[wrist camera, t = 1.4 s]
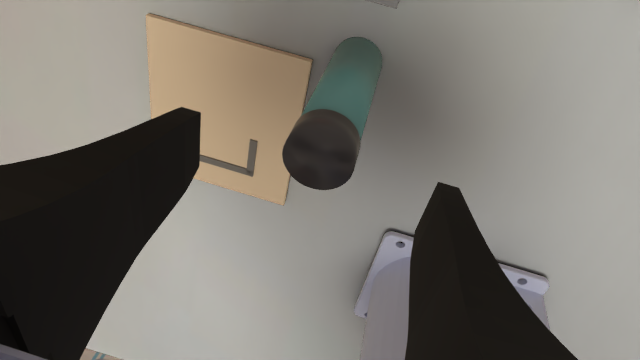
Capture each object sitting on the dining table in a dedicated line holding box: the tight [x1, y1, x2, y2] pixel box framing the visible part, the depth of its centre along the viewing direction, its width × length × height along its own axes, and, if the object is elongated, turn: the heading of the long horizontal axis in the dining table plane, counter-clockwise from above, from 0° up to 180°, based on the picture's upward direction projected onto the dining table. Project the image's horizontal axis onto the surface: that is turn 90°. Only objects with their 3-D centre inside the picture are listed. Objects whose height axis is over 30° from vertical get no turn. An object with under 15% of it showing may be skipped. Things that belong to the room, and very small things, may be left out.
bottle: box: [282, 37, 382, 190], centre depth 17 cm, size 2×2×8 cm
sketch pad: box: [146, 13, 313, 206], centre depth 23 cm, size 8×9×1 cm
